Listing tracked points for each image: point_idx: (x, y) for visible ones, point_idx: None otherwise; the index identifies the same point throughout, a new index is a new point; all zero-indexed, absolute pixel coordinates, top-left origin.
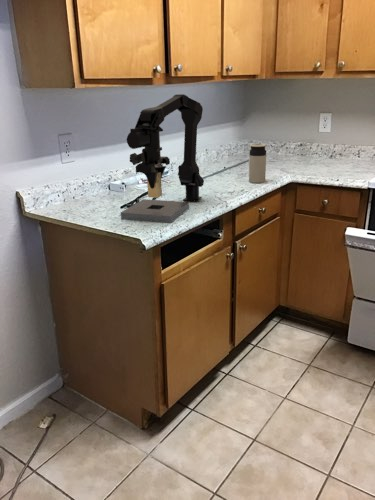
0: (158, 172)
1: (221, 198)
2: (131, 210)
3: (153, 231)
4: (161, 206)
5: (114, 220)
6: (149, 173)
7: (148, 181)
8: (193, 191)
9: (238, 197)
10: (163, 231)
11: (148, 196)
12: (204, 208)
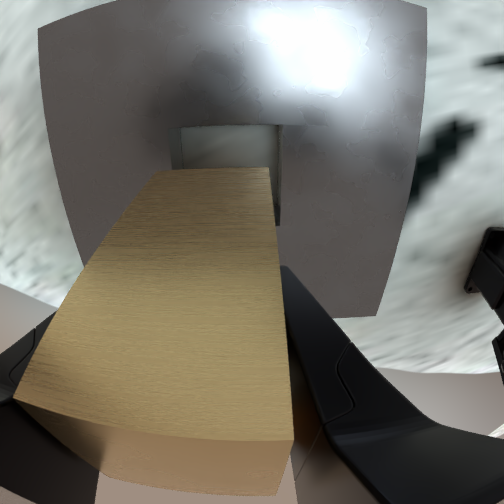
0: (223, 492)
1: (482, 338)
2: (91, 56)
3: (16, 267)
4: (280, 195)
5: (35, 18)
6: (11, 442)
7: (50, 319)
8: (493, 308)
9: (476, 368)
10: (35, 295)
11: (154, 177)
12: (362, 341)
